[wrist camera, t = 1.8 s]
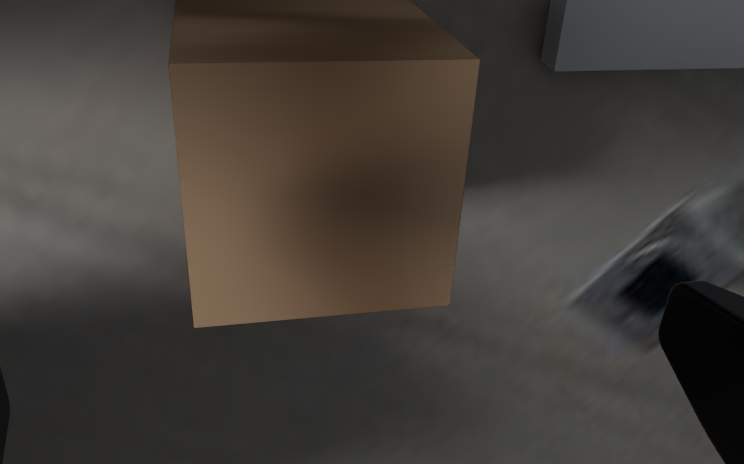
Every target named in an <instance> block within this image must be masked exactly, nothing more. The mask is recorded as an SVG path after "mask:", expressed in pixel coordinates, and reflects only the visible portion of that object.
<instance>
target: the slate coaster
mask: <svg viewBox="0 0 744 464" xmlns="http://www.w3.org/2000/svg"><path fill="white" fill-rule="evenodd" d="M540 62H541V63H543V64H544V65H546V66H547V67H549V68H550V69H551V70H553V71H610V70H665V69H721V68H744V0H551V1H550V7H549V13H548V19H547V25H546V30H545V36H544V42H543V48H542V54H541V60H540Z"/></svg>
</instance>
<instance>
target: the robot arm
mask: <svg viewBox="0 0 744 464" xmlns="http://www.w3.org/2000/svg"><path fill="white" fill-rule="evenodd" d="M658 335H659V341H660V345H661V347H662V349H663V351H664V353H665V355H666V357H667V359H668V361H669V363H670V365H671V367H672V369H673V370H674V372H675V374H676V376H677V378H678V380H679V382H680V384H681V386H682V388H683V390H684V392H685V394H686V396H687V398H688V400H689V402H690V404H691V406H692V407H693V409H694V411H695V413H696V415H697V417H698V419H699V421H700V423H701V425H702V427H703V428H704V430H705V432H706V434H707V436H708V437H709V439H710V440H711V442H712V444H713V445H714V447H715V449H716V450H717V452H718V453H719V455H720V456H721V458H722V460H723V461H724V463H725V464H744V297H743V296H740V295H738V294H736V293H733V292H731V291H728V290H726V289H723V288H721V287H718V286H716V285H713V284H711V283H708V282H705V281H693V282H682V283H678V284H676V285H675V286H674V287H673V288H672V289H671V291H670V294H669V297H668V300H667V303H666V307H665V310H664V313H663V316H662V320H661V323H660V326H659V334H658ZM9 414H10V405H9V397H8V393H7V390H6V386H5V382H4V379H3V375H2V371H1V368H0V464H2V462H3V456H4V449H5V443H6V436H7V429H8V423H9Z"/></svg>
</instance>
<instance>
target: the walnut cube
mask: <svg viewBox="0 0 744 464" xmlns="http://www.w3.org/2000/svg"><path fill="white" fill-rule="evenodd" d="M479 64H480V59H479V58H478V57H477V56H475V55H474V54H473V53H472V52H471V51H470V50H468V49H467V48H466V47H465V46H464V45H462V44H461V43H460V42H459V41H458V40H456V39H455V38H454V37H453V36H452V35H450V34H449V33H448V32H447V31H446V30H444V29H443V28H442V27H441V26H440V25H439V24H437V23H436V22H435V21H434V20H433V19H431V18H430V17H429V16H428V15H427V14H425V13H424V12H423V11H422V10H421V9H419V8H418V7H417V6H416V5H415V4H414V3H412V2H411V1H410V0H176V5H175V13H174V22H173V30H172V38H171V46H170V54H169V62H168V66H169V76H170V86H171V97H172V107H173V117H174V127H175V138H176V148H177V158H178V169H179V179H180V189H181V199H182V210H183V220H184V230H185V240H186V251H187V261H188V271H189V282H190V292H191V302H192V312H193V323H194V328H200V327H211V326H222V325H234V324H245V323H256V322H267V321H279V320H290V319H301V318H312V317H324V316H335V315H346V314H357V313H369V312H380V311H391V310H402V309H413V308H425V307H436V306H447V305H450V298H451V290H452V282H453V274H454V266H455V258H456V250H457V242H458V234H459V226H460V218H461V209H462V201H463V193H464V185H465V177H466V169H467V161H468V153H469V145H470V137H471V129H472V121H473V113H474V105H475V97H476V89H477V80H478V72H479Z"/></svg>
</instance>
